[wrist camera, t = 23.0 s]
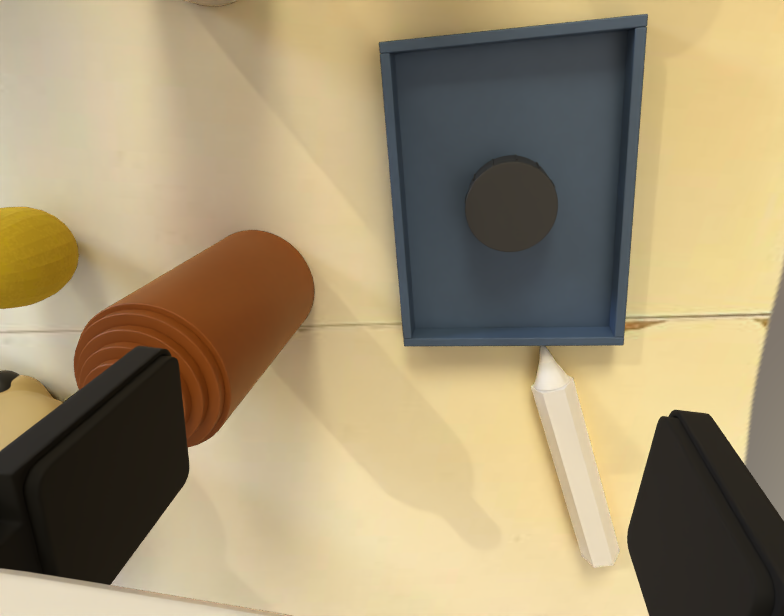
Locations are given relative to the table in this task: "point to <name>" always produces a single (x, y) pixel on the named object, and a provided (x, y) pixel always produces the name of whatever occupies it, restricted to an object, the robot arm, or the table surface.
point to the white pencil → (574, 461)
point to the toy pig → (21, 405)
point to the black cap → (511, 204)
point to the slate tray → (527, 139)
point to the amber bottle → (209, 323)
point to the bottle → (211, 2)
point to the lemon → (33, 256)
